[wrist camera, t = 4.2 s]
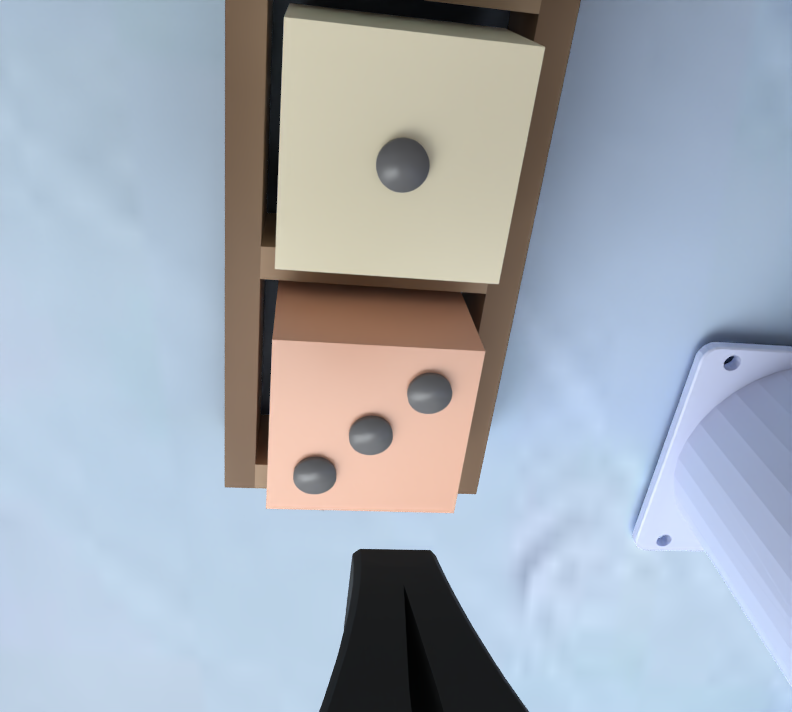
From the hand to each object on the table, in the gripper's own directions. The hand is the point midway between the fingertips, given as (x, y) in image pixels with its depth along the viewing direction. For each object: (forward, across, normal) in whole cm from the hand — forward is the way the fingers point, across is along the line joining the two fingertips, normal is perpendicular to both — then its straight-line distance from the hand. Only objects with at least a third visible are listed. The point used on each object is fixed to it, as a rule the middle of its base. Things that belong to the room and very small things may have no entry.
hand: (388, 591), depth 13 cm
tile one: (+8, 0, -6) cm, 10 cm away
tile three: (+8, 0, 0) cm, 8 cm away
